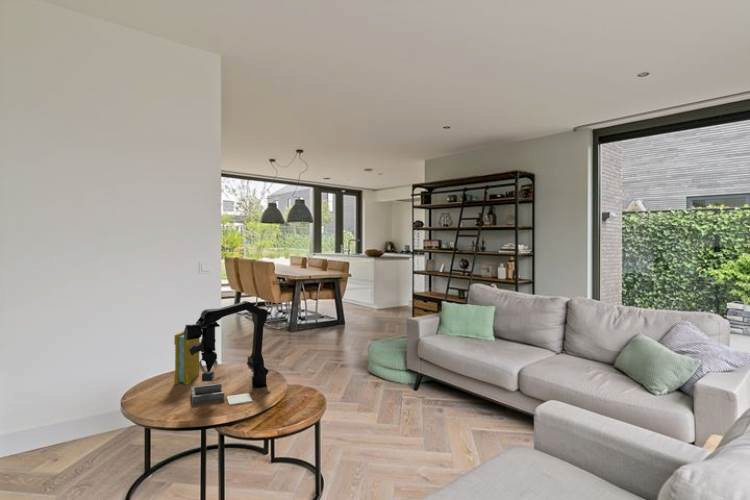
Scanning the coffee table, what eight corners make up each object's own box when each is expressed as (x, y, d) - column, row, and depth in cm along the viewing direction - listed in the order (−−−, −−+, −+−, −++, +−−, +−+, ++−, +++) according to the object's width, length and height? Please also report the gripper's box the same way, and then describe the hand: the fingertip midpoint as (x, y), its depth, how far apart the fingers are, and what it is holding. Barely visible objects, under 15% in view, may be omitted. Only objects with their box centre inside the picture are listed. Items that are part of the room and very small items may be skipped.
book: (187, 384, 207) (187, 335, 206) (174, 384, 207) (174, 335, 206) (201, 373, 224) (202, 328, 223) (189, 373, 224) (190, 327, 223)
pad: (248, 394, 195) (248, 393, 195) (252, 401, 186) (252, 400, 186) (226, 397, 191) (226, 396, 191) (229, 405, 182) (229, 404, 182)
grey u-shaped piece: (221, 390, 200) (221, 383, 200) (224, 400, 188) (224, 392, 188) (191, 394, 194) (191, 387, 194) (192, 404, 182) (192, 397, 182)
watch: (216, 380, 188) (216, 357, 189) (197, 381, 187) (198, 357, 187) (218, 377, 194) (218, 354, 194) (200, 378, 192) (201, 354, 193)
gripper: (189, 334, 195) (189, 366, 195) (189, 343, 178) (189, 378, 178) (214, 332, 200) (214, 363, 200) (217, 341, 183) (217, 375, 183)
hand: (208, 370), depth 190 cm, fingers closed on watch, 5 cm apart
